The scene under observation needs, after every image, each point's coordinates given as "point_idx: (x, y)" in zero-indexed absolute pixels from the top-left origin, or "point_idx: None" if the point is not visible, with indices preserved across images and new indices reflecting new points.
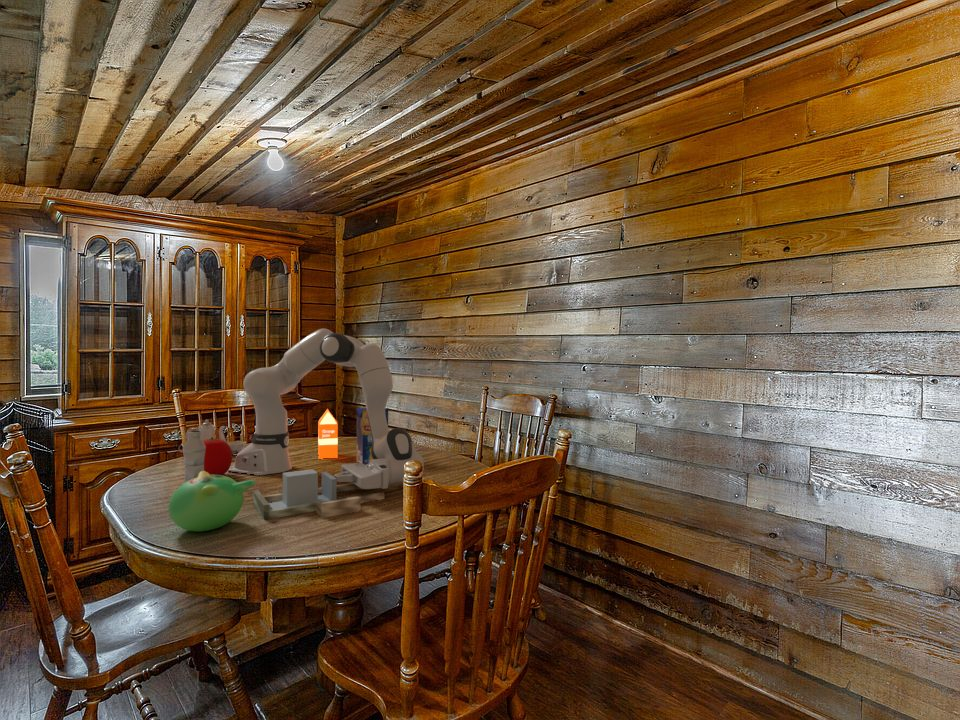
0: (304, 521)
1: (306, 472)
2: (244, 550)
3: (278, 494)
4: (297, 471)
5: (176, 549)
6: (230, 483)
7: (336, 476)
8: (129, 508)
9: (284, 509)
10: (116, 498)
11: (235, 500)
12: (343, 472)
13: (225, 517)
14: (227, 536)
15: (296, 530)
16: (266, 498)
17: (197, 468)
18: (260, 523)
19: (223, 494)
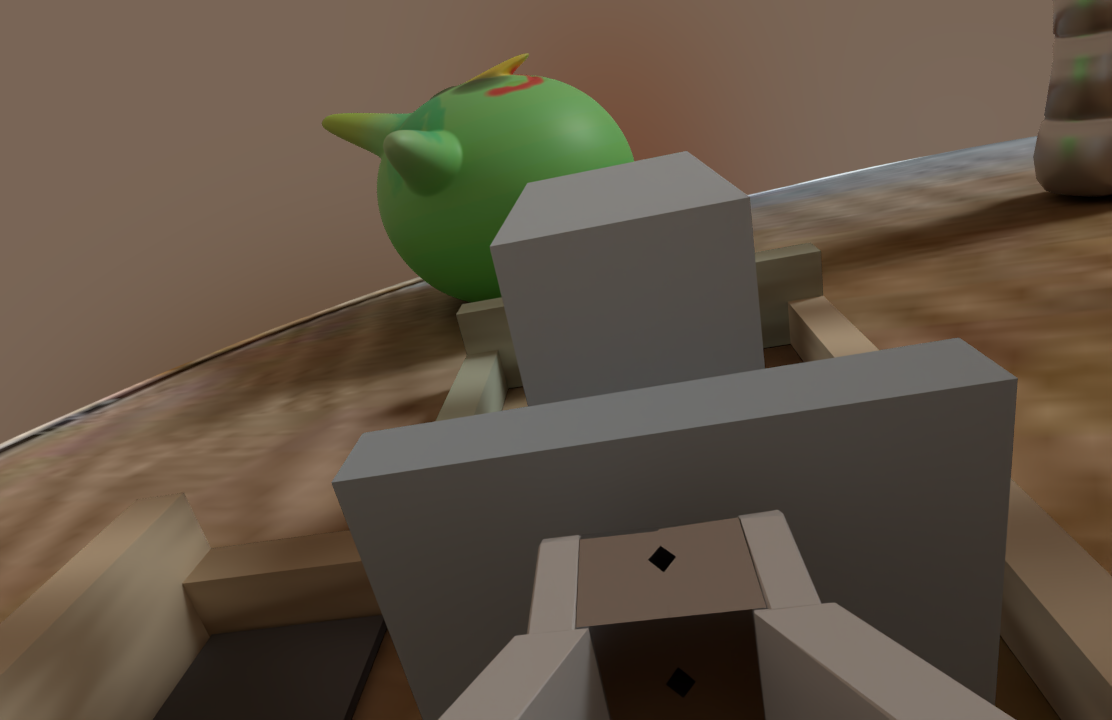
0: (267, 509)
1: (592, 203)
2: (213, 374)
3: (846, 348)
4: (688, 171)
5: (400, 289)
6: (424, 127)
7: (627, 533)
8: (871, 177)
9: (449, 394)
10: (1008, 143)
11: (400, 211)
12: (945, 712)
13: (409, 265)
14: (390, 334)
15: (186, 478)
16: (800, 329)
17: (1069, 53)
18: (440, 377)
19: (381, 166)
